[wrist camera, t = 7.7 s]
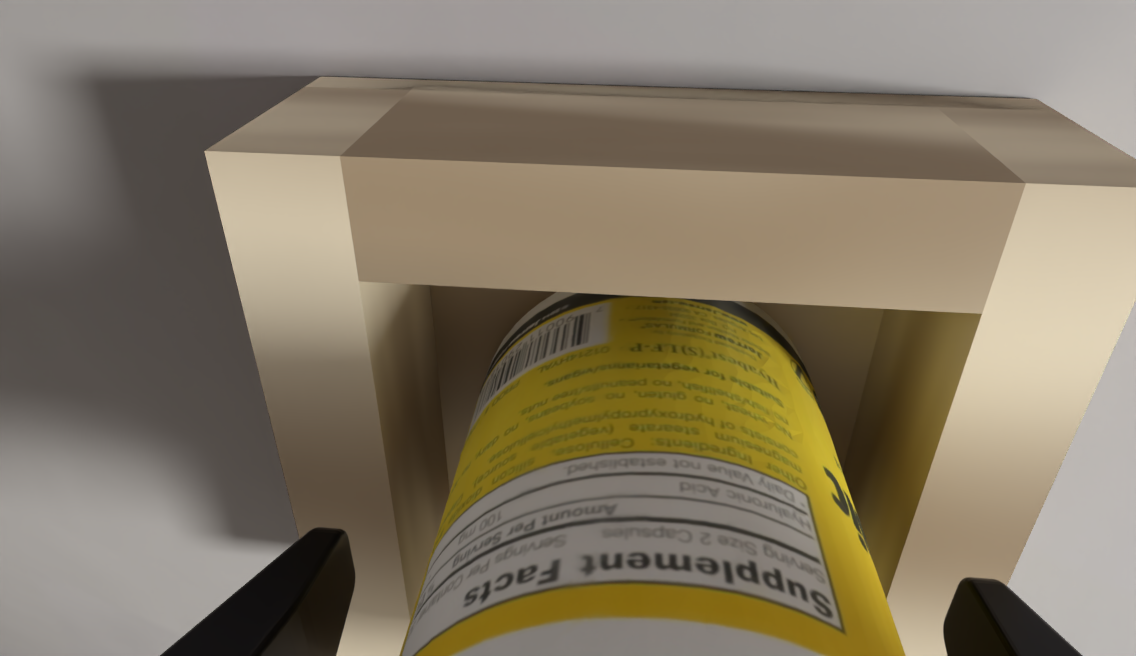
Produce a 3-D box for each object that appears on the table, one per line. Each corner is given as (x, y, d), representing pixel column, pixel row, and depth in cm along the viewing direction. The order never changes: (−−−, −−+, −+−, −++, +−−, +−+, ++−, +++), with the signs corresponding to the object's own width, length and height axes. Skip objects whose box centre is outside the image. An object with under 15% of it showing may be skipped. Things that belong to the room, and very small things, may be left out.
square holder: (875, 594, 16) (927, 761, 13) (395, 556, 16) (340, 706, 13) (1036, 98, 10) (1185, 189, 7) (320, 76, 11) (204, 150, 8)
